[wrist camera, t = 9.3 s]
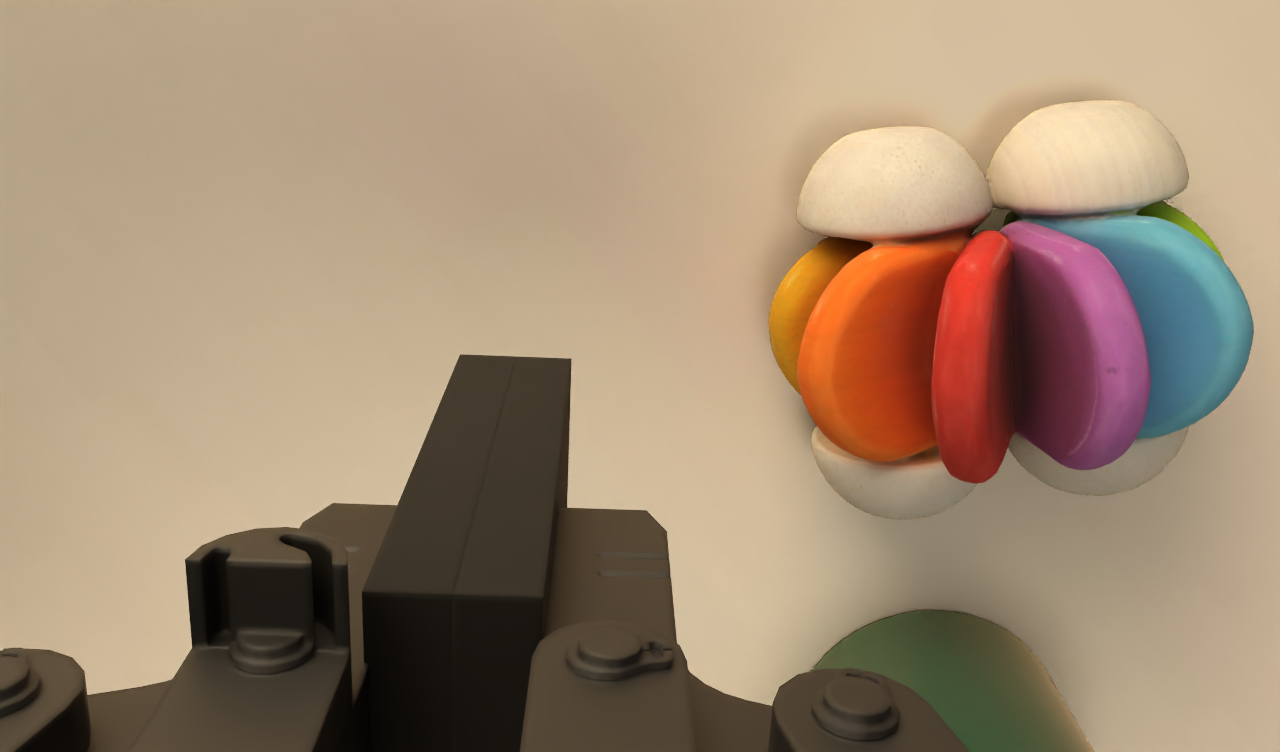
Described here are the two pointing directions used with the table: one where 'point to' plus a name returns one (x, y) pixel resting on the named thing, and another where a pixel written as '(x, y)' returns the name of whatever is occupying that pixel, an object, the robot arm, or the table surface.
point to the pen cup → (967, 679)
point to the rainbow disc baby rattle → (1005, 310)
